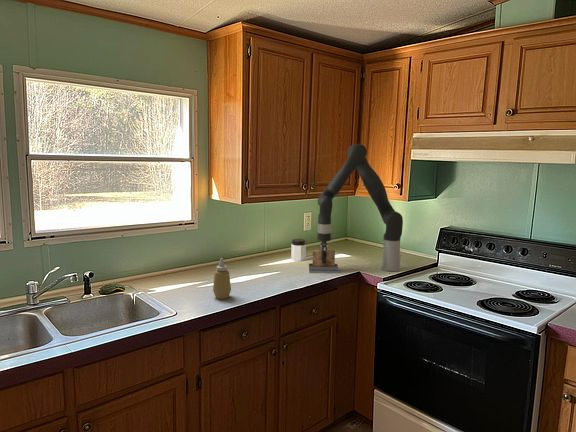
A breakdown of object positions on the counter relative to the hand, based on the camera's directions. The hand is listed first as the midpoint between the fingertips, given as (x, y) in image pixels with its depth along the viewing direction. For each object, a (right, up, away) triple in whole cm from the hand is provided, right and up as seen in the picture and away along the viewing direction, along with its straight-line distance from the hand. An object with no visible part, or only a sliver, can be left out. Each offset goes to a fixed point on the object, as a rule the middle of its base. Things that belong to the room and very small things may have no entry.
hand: (323, 262), depth 235 cm
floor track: (0, -5, +1) cm, 5 cm away
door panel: (0, -3, 0) cm, 3 cm away
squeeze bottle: (-49, -11, -43) cm, 67 cm away
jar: (-13, -1, +26) cm, 29 cm away
